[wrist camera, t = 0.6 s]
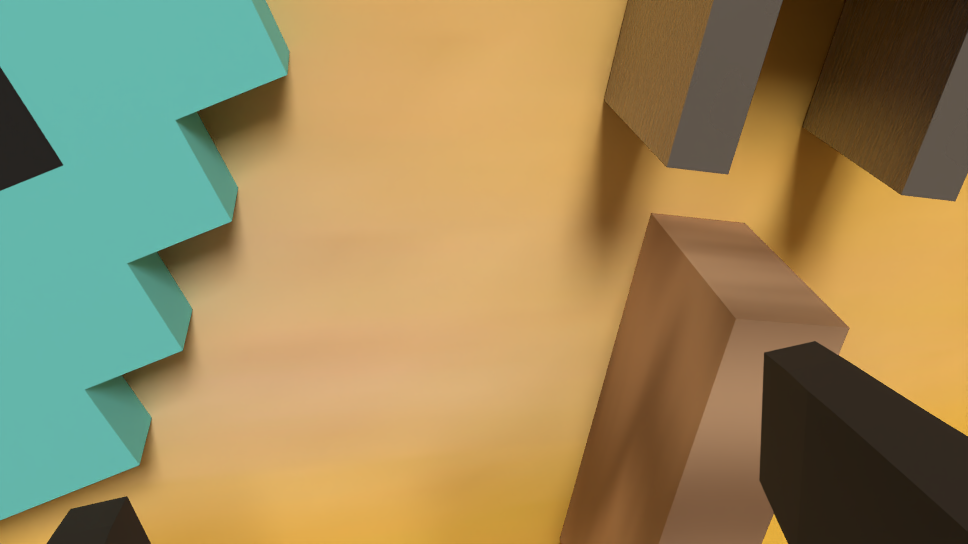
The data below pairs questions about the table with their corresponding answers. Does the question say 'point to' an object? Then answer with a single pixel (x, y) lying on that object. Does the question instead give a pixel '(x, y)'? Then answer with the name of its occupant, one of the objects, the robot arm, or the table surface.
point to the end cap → (838, 95)
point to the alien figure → (105, 214)
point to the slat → (691, 389)
